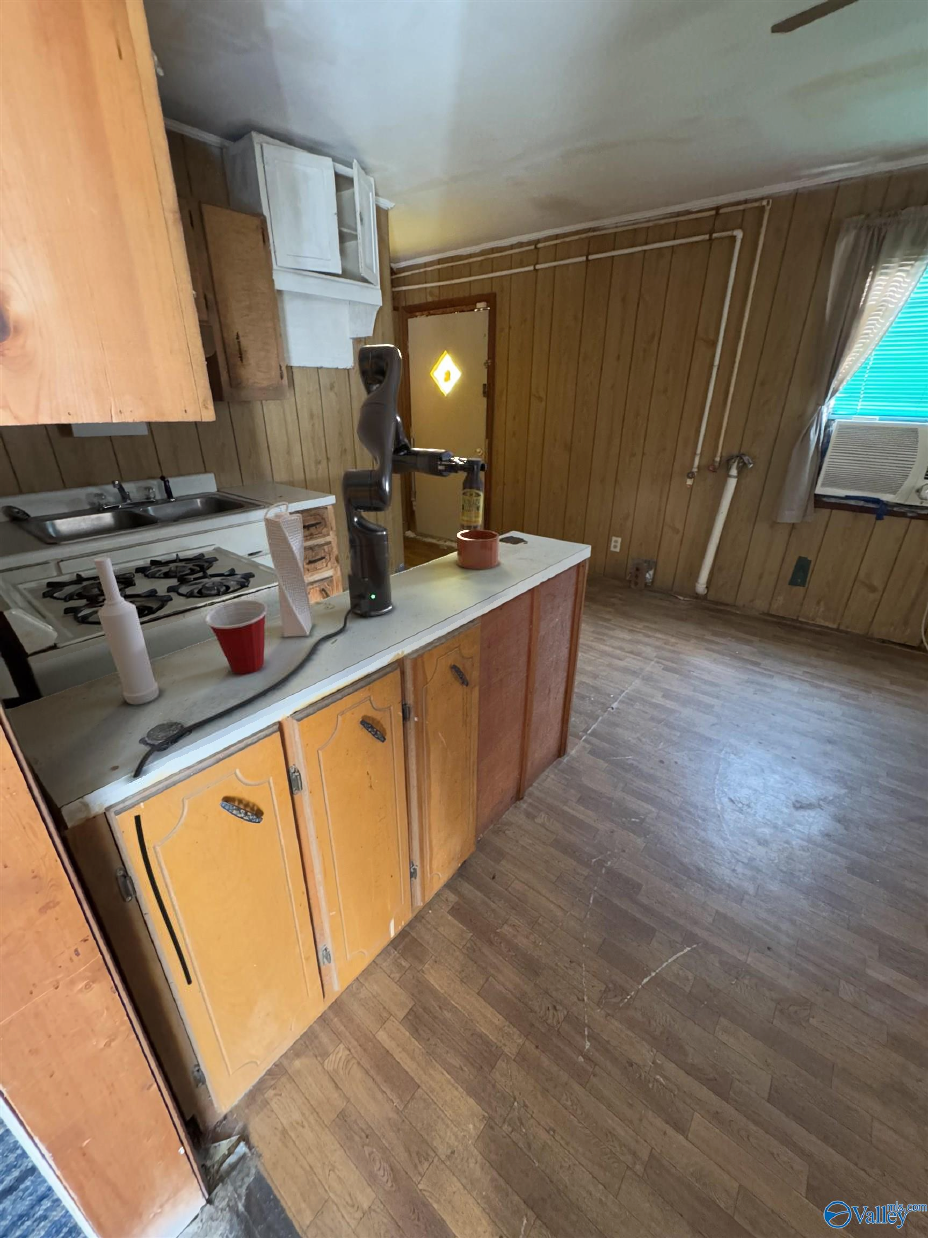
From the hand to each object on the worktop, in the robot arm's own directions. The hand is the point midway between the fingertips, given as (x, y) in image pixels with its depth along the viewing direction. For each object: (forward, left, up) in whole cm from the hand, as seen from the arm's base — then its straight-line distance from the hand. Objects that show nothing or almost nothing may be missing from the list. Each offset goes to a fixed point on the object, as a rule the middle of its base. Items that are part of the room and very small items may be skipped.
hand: (480, 468), depth 139 cm
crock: (+6, +5, -30) cm, 31 cm away
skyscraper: (-59, +4, -30) cm, 66 cm away
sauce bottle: (0, +3, -18) cm, 18 cm away
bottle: (-92, +1, -30) cm, 97 cm away
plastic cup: (-75, -3, -30) cm, 81 cm away
